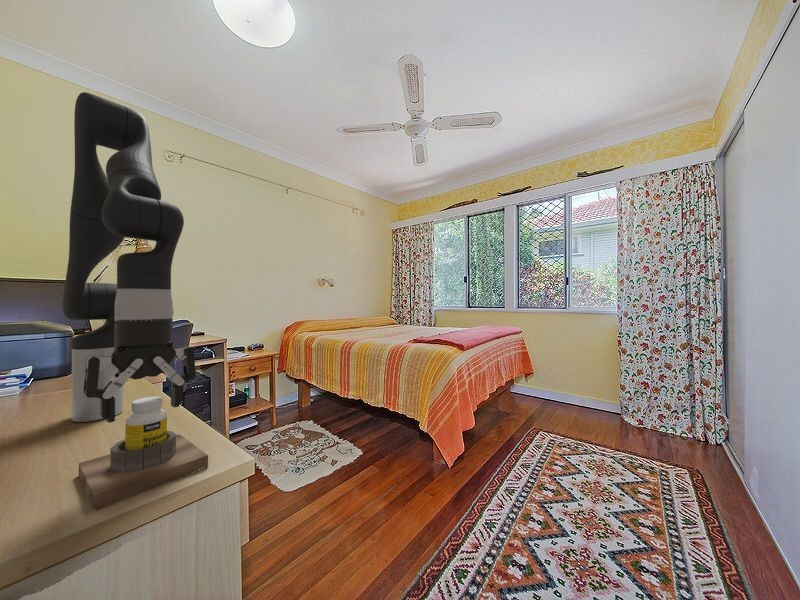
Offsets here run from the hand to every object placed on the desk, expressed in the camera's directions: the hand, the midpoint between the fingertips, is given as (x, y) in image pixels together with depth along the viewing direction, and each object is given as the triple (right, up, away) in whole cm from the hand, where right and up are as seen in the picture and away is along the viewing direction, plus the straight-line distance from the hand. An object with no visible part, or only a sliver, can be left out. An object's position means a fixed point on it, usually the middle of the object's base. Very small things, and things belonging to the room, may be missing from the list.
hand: (144, 413), depth 52 cm
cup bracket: (0, -10, 0) cm, 10 cm away
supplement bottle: (0, -8, 0) cm, 8 cm away
